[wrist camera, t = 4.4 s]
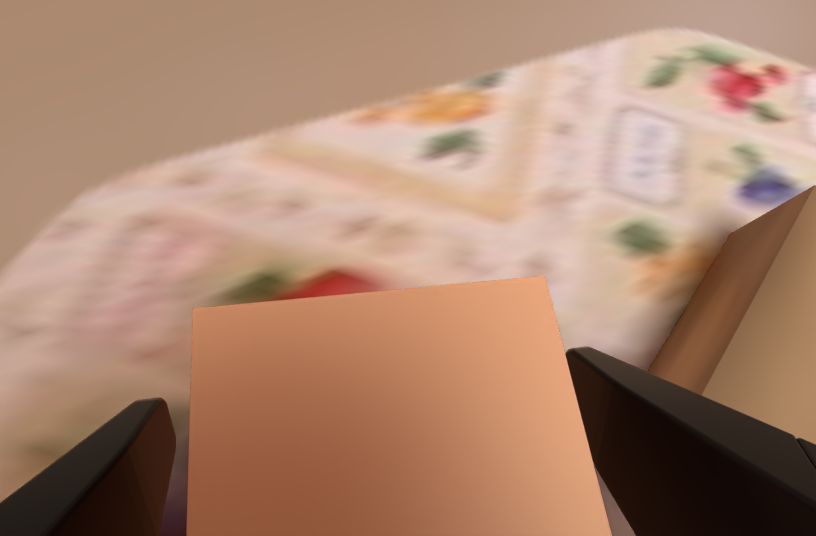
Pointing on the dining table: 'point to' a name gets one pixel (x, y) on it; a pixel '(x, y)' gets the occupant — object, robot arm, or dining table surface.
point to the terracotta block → (389, 417)
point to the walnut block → (755, 323)
